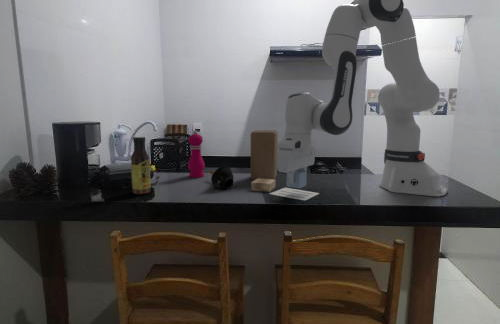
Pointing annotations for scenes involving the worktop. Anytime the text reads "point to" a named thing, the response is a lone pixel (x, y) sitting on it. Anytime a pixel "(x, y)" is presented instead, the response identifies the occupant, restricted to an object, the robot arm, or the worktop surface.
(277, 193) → the recipe card
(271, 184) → the oak block
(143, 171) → the sauce bottle
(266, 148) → the block
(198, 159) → the pepper mill
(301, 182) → the blue cube
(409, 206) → the worktop surface
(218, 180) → the black rounded dome
